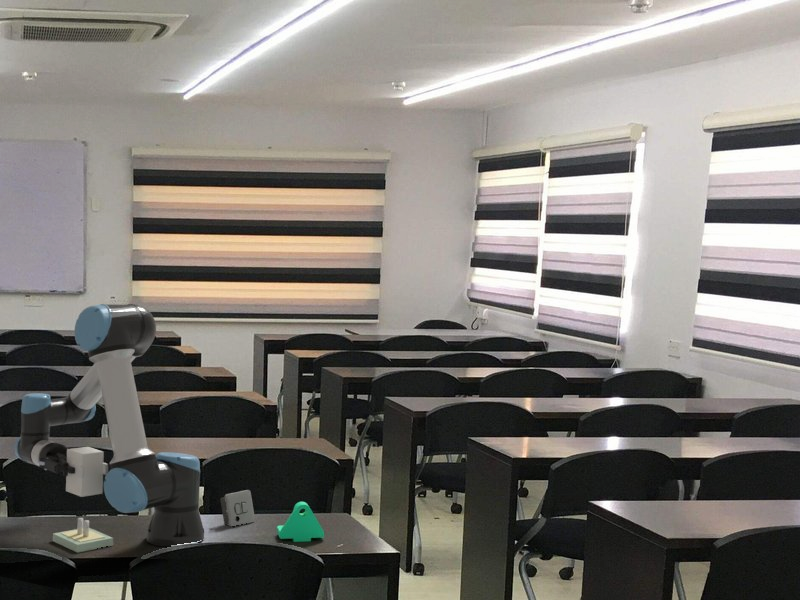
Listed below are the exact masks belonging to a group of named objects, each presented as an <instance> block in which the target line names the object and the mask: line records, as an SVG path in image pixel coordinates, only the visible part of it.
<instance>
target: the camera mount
mask: <svg viewBox="0 0 800 600" xmlns="http://www.w3.org/2000/svg"><path fill="white" fill-rule="evenodd" d="M301 510H304V512H302V513H300V512H301ZM276 532H277V535H278V538H279V539H281V540H284V539H285V540H286V539H287V540H288V539H291V540H292V541H293V542H294V543H295V542H296V543H297V542H300V543H301V542H311V541H312V539H313V538H314V539H319V538H325V531H324V529H323V528H322V526H321V524H320V522H319V520H318V519H317V517H316V515H315V514H314V513H313V510H312V508H310V506H309V505H308V503H307V502H305V501H299V502H297V503H295V505H294V507H293V510H292V512H291V514H290V515H289V516H288V518H287V520H286V521H285V523H284V524H283V525H277V526H276Z"/></svg>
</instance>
